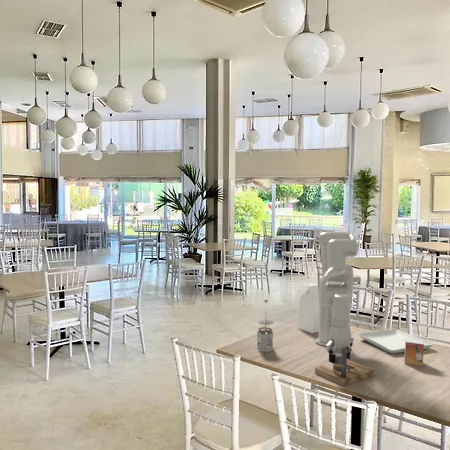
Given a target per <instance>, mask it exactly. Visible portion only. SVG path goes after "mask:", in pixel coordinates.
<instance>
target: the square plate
mask: <svg viewBox="0 0 450 450" xmlns="http://www.w3.org/2000/svg"><path fill="white" fill-rule="evenodd" d="M357 335H358V337H360V339H362V340H364V341H365V342H368V343H370V344H371V345H373V346H376V347H377V348H379V349H381V350H383V351H386V352H387V353H390V354H397V353H405V341H406V339H410V340H418V341H424V350H426V349H429V348H431V347H433V346H434V344H433V343H431V342H430V341H429V342H428V341H426V340H425V339H423V338H421V337H418V336H415V335H413V334H410V333H407V332H404V331H402V330H401V329H384V330H375V331H367V332H360V333H357Z"/></svg>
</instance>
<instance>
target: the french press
mask: <svg viewBox="0 0 450 450" xmlns="http://www.w3.org/2000/svg"><path fill="white" fill-rule="evenodd" d="M263 301H264V303H269V299H264V300H263ZM257 324H260V325H264V326H262V327H259V328H258V331H257V337H256V338H257V339H256V340H257V341H256V342H257V344H256V346H255V350H257V351H259V352H272V351H274V350H275V347H274V341H273V339H274V332H273V329H272V328H271V327H269V326H270V325H273V324H274V320H272V319H271V318H269V317H268V318H267V313H265V317H263V318H262V317H261V318H260V319H258V320H257ZM267 326H268V327H267Z"/></svg>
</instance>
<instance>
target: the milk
mask: <svg viewBox="0 0 450 450" xmlns="http://www.w3.org/2000/svg"><path fill="white" fill-rule="evenodd" d="M318 288H319V286H318V284H316V283H315V284H314V283H313V284H310V285H308V288H307V290H306V291H305V292H304V293H303V294H302V295H300V297H299V305H298V315H297V316H298V317H297V325H296V326H297V327H296V328H298V330H301V331H304V332H308V333H311V334H316V333H319V294H318ZM315 332H316V333H315Z"/></svg>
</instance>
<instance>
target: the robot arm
mask: <svg viewBox="0 0 450 450" xmlns="http://www.w3.org/2000/svg"><path fill="white" fill-rule="evenodd" d="M318 244H319V245H318V246H319V248H320V251H321V256H322V257H321V262H322V263H321V278H320V281H319V286H318V294H319V332H318V337H316V338H315V339H314V340H315V343H317V345H320V346H324V347H325V348H326V351H327V354H328V362H329V363H331V364H332V365H333V364H335V357H336V355H335V354H336V352H337V350H342V348H347V350H348V349H351V350H352V346H353V345H354V344H353V343H354V341H355V338H354V337H352V334H351V333H352V330H351V304H352V301H353V296H354V295H353V293H354V291H353V290H354V268H353V267H352V265H351V264H350V263H347V259H346V258H350V257H351V258H354V257H356V256H358V253H359V245H358V242H357V239H356V237H355V235H354V233H352V232H346V231H345V232H343V231H324V232H321V233H320V234H319V235H318ZM327 282H329V283H327ZM330 282H332V283H330ZM333 282H335V283H333ZM338 282H339V283H338ZM350 358H351V352H348V353H347V359H348V360H351V359H350Z"/></svg>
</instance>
